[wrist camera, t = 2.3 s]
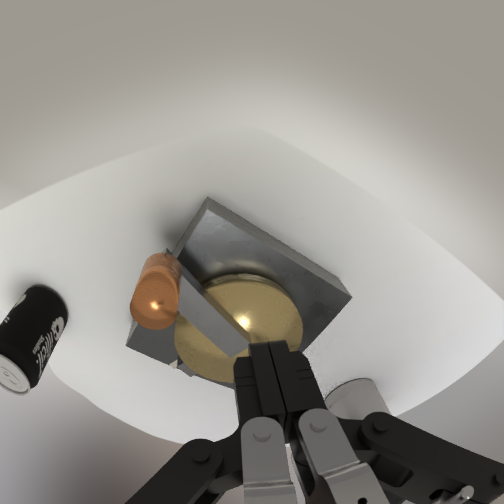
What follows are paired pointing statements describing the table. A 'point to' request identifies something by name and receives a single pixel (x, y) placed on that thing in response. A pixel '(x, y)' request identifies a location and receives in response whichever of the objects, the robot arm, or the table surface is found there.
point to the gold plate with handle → (213, 314)
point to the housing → (245, 262)
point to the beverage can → (29, 339)
